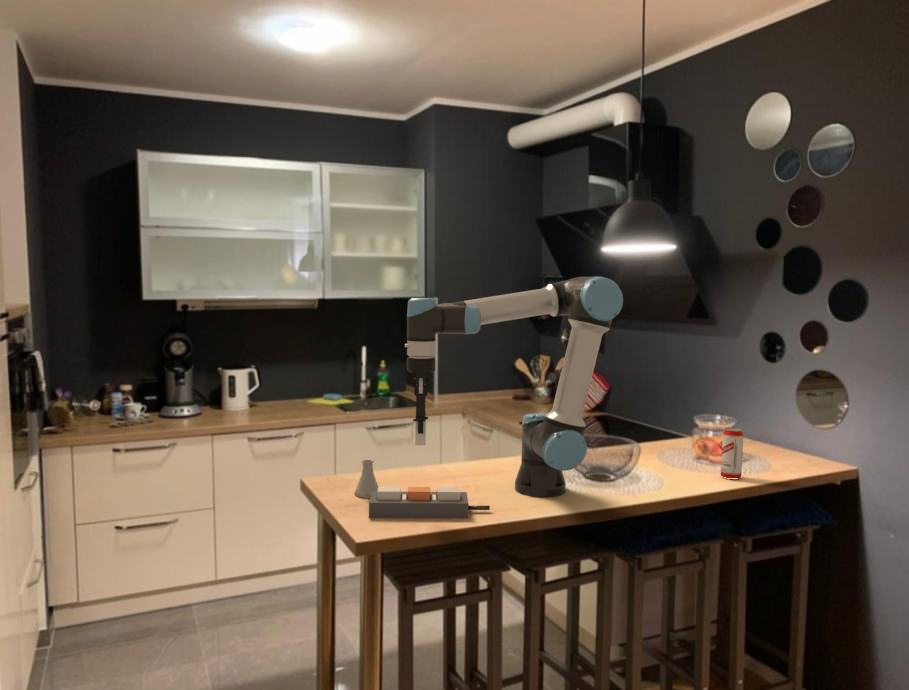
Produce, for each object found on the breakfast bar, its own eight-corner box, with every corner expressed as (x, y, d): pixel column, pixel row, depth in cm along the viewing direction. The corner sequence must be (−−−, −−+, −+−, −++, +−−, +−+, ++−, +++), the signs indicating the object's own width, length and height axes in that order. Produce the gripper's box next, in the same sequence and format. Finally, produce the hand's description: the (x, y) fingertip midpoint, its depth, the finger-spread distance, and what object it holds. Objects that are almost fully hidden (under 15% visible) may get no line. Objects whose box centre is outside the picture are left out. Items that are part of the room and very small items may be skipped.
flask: (367, 489, 211) (367, 456, 210) (385, 494, 207) (385, 460, 206) (349, 495, 206) (349, 461, 205) (367, 500, 201) (367, 465, 200)
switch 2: (430, 501, 194) (430, 487, 194) (430, 506, 190) (430, 491, 189) (408, 501, 194) (408, 486, 193) (407, 506, 189) (407, 491, 189)
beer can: (732, 474, 234) (734, 426, 233) (745, 479, 228) (748, 430, 227) (716, 476, 232) (718, 427, 231) (729, 481, 227) (731, 431, 225)
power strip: (487, 506, 198) (488, 491, 197) (491, 518, 188) (491, 503, 187) (371, 505, 196) (371, 491, 196) (368, 517, 186) (368, 502, 186)
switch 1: (400, 501, 194) (400, 486, 193) (400, 506, 189) (400, 491, 189) (378, 501, 194) (378, 486, 193) (377, 506, 189) (377, 491, 189)
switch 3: (459, 501, 194) (459, 487, 194) (460, 506, 190) (460, 492, 190) (437, 501, 194) (437, 487, 194) (437, 506, 190) (437, 491, 189)
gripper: (407, 353, 194) (407, 439, 197) (406, 359, 181) (405, 450, 184) (435, 354, 195) (434, 439, 197) (435, 359, 182) (434, 450, 184)
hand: (420, 444), depth 190 cm, fingers closed
